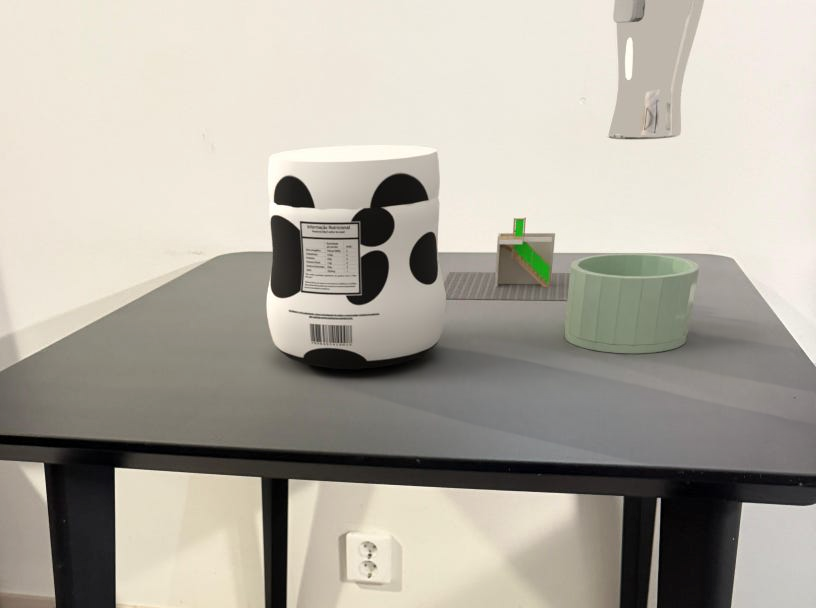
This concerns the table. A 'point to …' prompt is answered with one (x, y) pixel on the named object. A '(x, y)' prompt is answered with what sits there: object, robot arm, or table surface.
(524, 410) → the table surface
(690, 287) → the ceramic cup
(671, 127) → the beer glass
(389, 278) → the milk container
